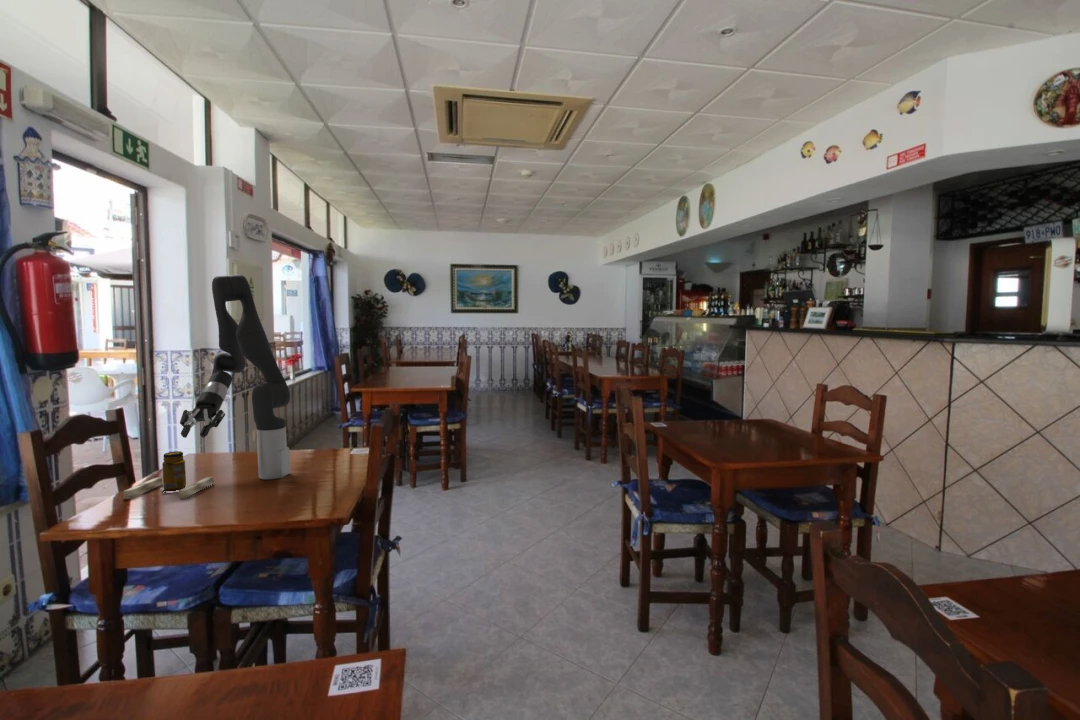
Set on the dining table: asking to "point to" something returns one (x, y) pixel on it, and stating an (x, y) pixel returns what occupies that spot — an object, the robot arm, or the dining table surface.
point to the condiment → (173, 472)
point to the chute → (158, 482)
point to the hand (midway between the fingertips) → (192, 436)
